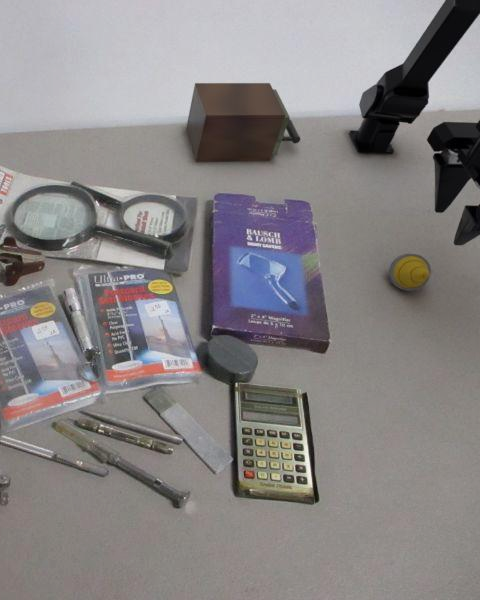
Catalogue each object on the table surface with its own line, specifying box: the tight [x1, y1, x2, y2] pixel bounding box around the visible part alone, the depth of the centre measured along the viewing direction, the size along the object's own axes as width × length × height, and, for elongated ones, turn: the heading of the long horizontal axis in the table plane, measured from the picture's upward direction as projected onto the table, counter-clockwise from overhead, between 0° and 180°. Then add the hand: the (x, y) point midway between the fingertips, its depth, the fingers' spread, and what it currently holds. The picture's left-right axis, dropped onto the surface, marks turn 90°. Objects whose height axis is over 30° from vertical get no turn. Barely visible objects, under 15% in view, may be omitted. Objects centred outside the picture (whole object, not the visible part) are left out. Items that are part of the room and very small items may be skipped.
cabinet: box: [185, 82, 285, 163], centre depth 104 cm, size 13×10×9 cm
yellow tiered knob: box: [388, 253, 432, 292], centre depth 84 cm, size 5×5×10 cm
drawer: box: [272, 88, 301, 156], centre depth 105 cm, size 16×9×8 cm, turn 93°
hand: (447, 227), depth 78 cm, fingers open, 6 cm apart
